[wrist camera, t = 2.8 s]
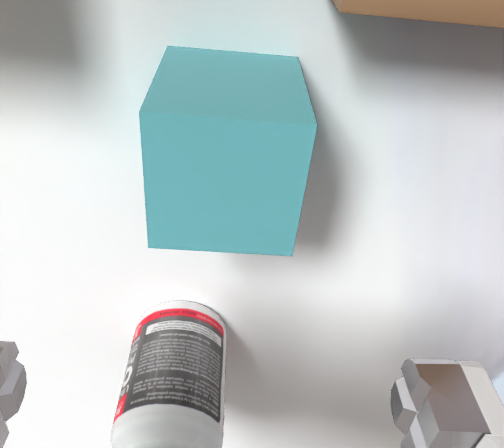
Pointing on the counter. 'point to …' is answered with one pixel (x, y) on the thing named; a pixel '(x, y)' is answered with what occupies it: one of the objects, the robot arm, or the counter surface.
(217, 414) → the pill bottle
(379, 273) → the counter surface
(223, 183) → the teal block
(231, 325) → the counter surface
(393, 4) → the walnut plinth
